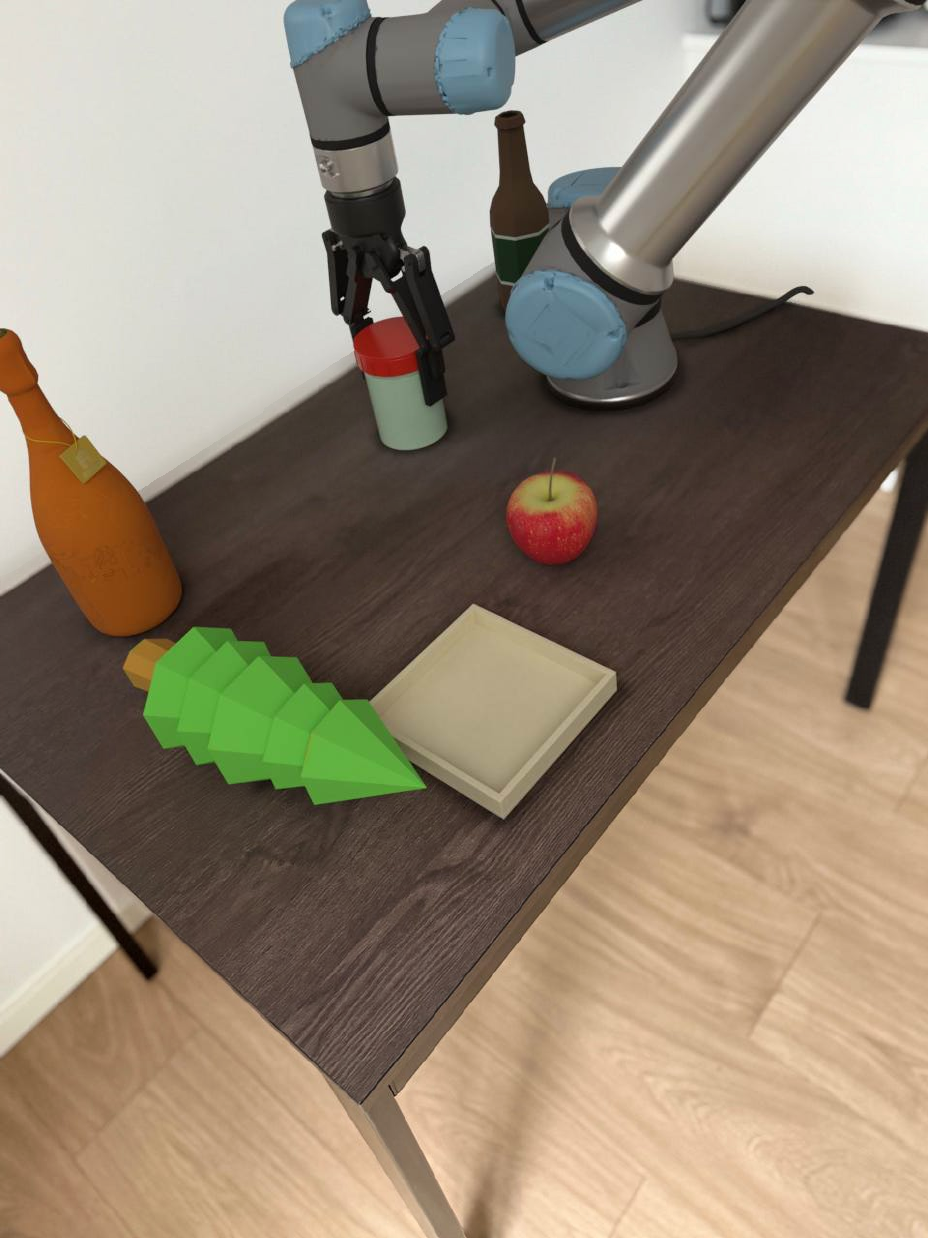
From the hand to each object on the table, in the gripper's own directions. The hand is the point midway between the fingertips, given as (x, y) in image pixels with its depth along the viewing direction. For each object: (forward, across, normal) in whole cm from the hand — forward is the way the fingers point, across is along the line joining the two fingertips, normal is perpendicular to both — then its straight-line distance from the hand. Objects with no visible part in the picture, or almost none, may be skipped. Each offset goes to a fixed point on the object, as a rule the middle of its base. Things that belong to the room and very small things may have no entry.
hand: (404, 386), depth 107 cm
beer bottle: (+6, -8, +30) cm, 31 cm away
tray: (+6, +36, -26) cm, 44 cm away
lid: (-6, 0, 0) cm, 6 cm away
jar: (+6, 0, 0) cm, 6 cm away
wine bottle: (+6, -2, -37) cm, 38 cm away
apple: (+6, +28, -7) cm, 29 cm away
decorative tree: (+6, +26, -40) cm, 48 cm away
